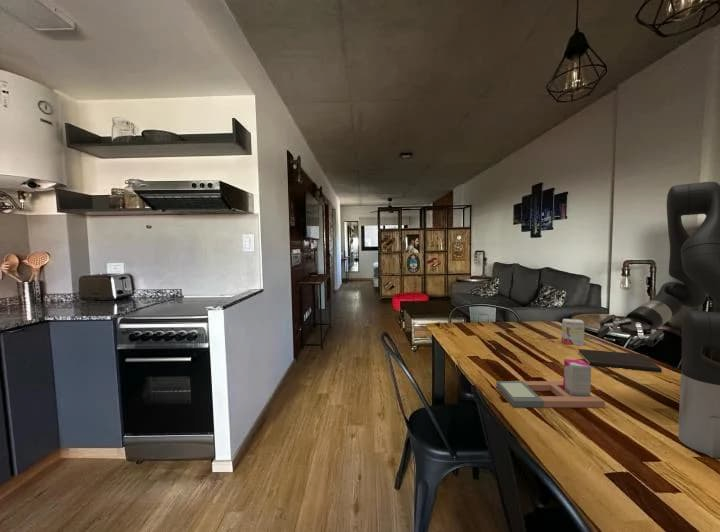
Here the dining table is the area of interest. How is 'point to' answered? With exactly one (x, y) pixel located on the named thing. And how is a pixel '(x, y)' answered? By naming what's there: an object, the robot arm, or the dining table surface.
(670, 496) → the dining table surface
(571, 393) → the supplement box
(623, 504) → the dining table surface
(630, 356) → the hardcover book
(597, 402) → the board
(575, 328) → the ink box
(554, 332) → the dining table surface
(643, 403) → the dining table surface
